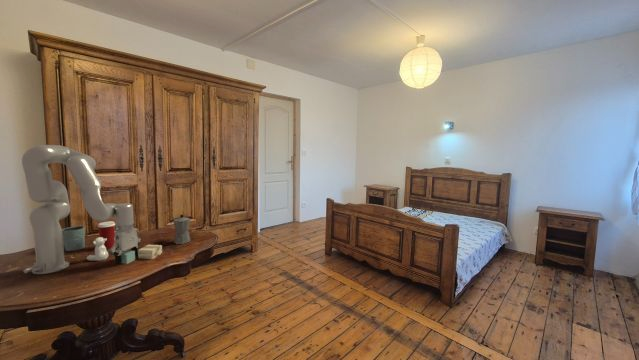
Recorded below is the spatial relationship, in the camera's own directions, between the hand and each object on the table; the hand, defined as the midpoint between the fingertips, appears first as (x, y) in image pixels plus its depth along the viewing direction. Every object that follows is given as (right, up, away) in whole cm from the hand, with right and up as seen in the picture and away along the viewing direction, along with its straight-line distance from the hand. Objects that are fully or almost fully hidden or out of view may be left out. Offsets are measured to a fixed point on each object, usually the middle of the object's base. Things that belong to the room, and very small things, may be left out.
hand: (126, 258), depth 138 cm
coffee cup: (-25, +1, +18) cm, 30 cm away
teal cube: (0, -1, 0) cm, 2 cm away
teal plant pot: (-42, +1, +16) cm, 45 cm away
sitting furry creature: (-16, -1, +3) cm, 16 cm away
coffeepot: (+13, +1, +31) cm, 34 cm away
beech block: (+7, -1, +8) cm, 11 cm away
